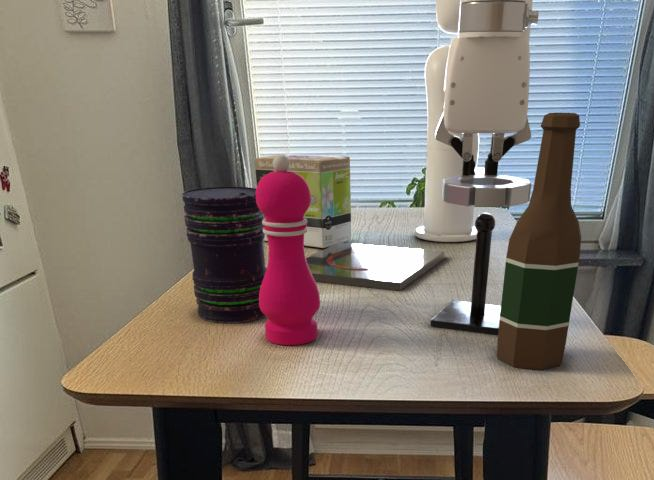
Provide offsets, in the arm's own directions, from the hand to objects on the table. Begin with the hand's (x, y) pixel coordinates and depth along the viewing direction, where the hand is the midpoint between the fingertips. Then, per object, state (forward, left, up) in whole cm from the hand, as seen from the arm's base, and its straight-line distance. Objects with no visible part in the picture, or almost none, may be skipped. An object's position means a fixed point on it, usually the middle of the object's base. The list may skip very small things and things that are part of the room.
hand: (477, 193), depth 87 cm
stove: (-11, -21, -14) cm, 27 cm away
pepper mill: (+24, -16, -14) cm, 32 cm away
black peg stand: (+9, +3, -14) cm, 17 cm away
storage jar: (+18, -28, -14) cm, 36 cm away
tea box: (-26, -40, -14) cm, 50 cm away
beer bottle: (+20, +12, -14) cm, 27 cm away
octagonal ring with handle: (+5, +2, +1) cm, 5 cm away
